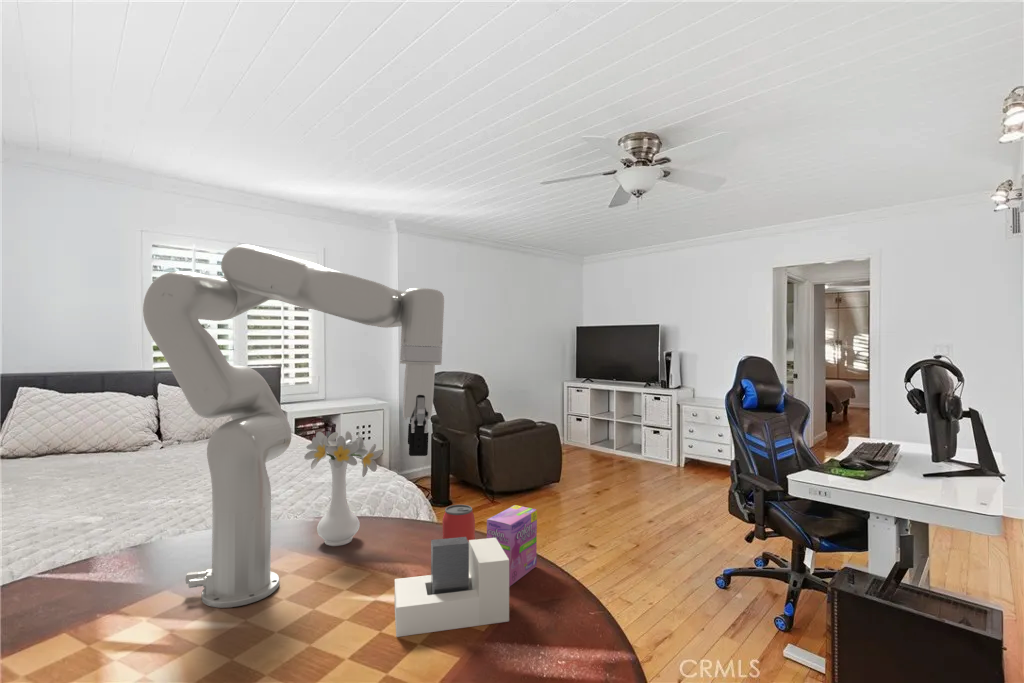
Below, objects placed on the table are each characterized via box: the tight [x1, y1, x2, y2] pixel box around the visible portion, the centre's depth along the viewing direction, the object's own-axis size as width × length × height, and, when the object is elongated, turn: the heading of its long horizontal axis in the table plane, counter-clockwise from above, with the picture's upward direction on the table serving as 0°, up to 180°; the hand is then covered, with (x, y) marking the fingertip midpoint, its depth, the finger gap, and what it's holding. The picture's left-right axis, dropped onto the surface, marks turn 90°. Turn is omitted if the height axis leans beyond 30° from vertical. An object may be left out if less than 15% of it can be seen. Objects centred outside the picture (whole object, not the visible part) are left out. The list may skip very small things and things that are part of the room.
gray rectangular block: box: [430, 537, 469, 595], centre depth 85 cm, size 6×3×12 cm, turn 104°
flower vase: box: [304, 430, 384, 547], centre depth 117 cm, size 13×18×25 cm
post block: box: [394, 537, 510, 638], centre depth 85 cm, size 18×10×10 cm, turn 105°
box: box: [486, 504, 538, 587], centre depth 100 cm, size 10×6×12 cm, turn 148°
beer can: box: [442, 504, 476, 542], centre depth 103 cm, size 7×7×12 cm
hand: (417, 449), depth 92 cm, fingers open, 9 cm apart
